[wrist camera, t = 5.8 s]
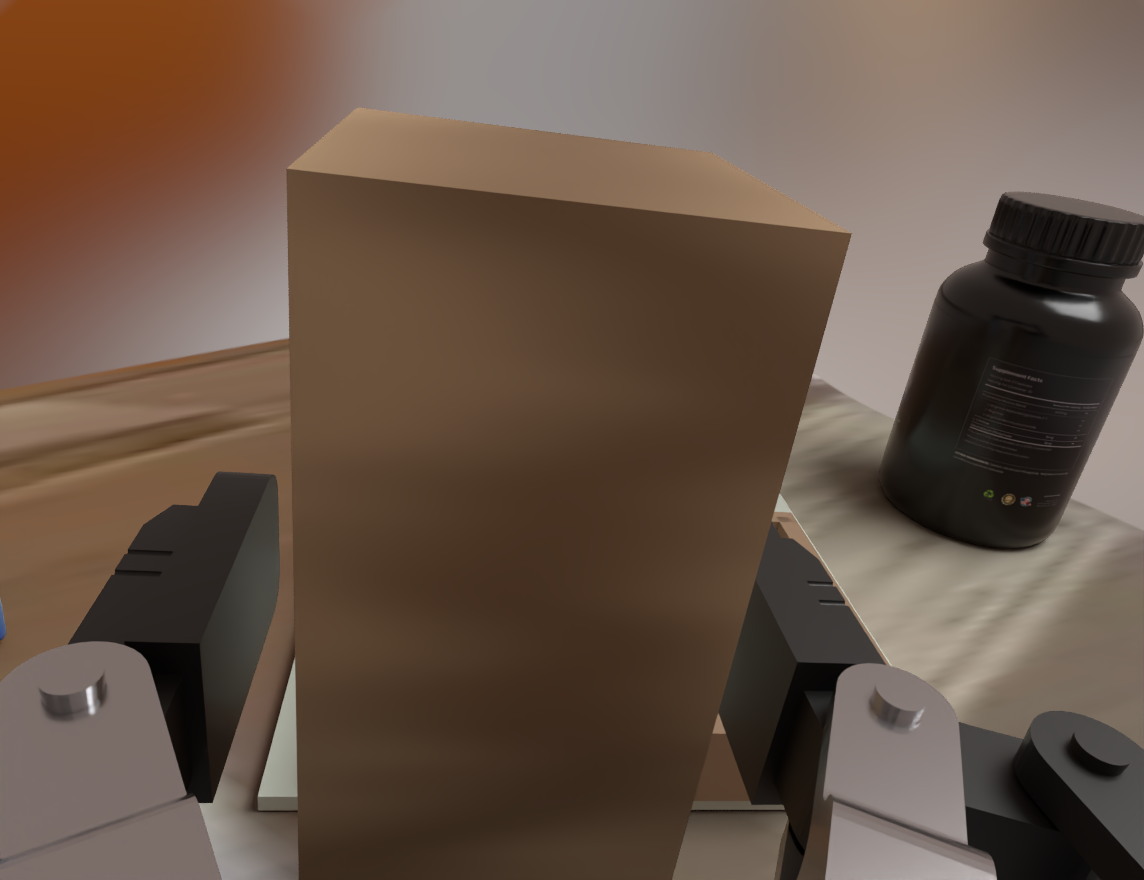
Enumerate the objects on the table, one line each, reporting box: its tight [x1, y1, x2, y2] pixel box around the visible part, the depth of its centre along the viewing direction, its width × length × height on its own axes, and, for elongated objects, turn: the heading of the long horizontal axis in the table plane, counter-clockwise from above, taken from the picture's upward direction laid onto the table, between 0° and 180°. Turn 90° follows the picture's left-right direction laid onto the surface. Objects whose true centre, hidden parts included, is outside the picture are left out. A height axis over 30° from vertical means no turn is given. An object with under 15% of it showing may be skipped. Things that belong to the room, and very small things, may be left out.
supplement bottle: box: [879, 192, 1144, 548], centre depth 31 cm, size 7×7×12 cm
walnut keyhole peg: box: [287, 108, 851, 880], centre depth 11 cm, size 6×6×14 cm
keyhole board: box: [258, 493, 892, 810], centre depth 26 cm, size 16×19×3 cm
